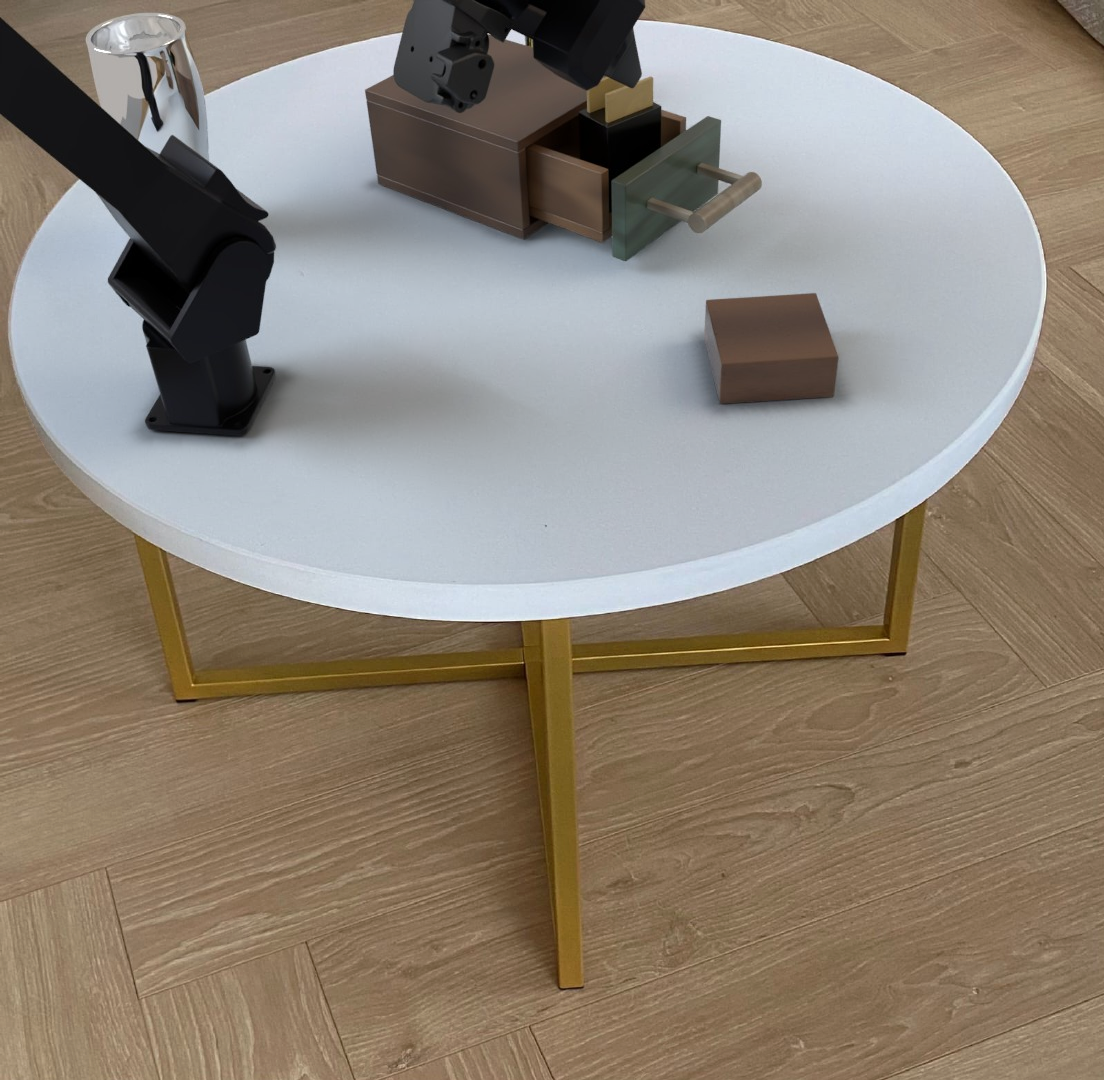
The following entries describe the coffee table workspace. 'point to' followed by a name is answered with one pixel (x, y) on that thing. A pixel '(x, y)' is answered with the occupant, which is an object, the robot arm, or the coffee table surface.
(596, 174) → the drawer
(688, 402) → the coffee table surface
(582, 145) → the black toaster with toast
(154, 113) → the silver metal cup
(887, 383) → the coffee table surface
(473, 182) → the cabinet
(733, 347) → the stand
